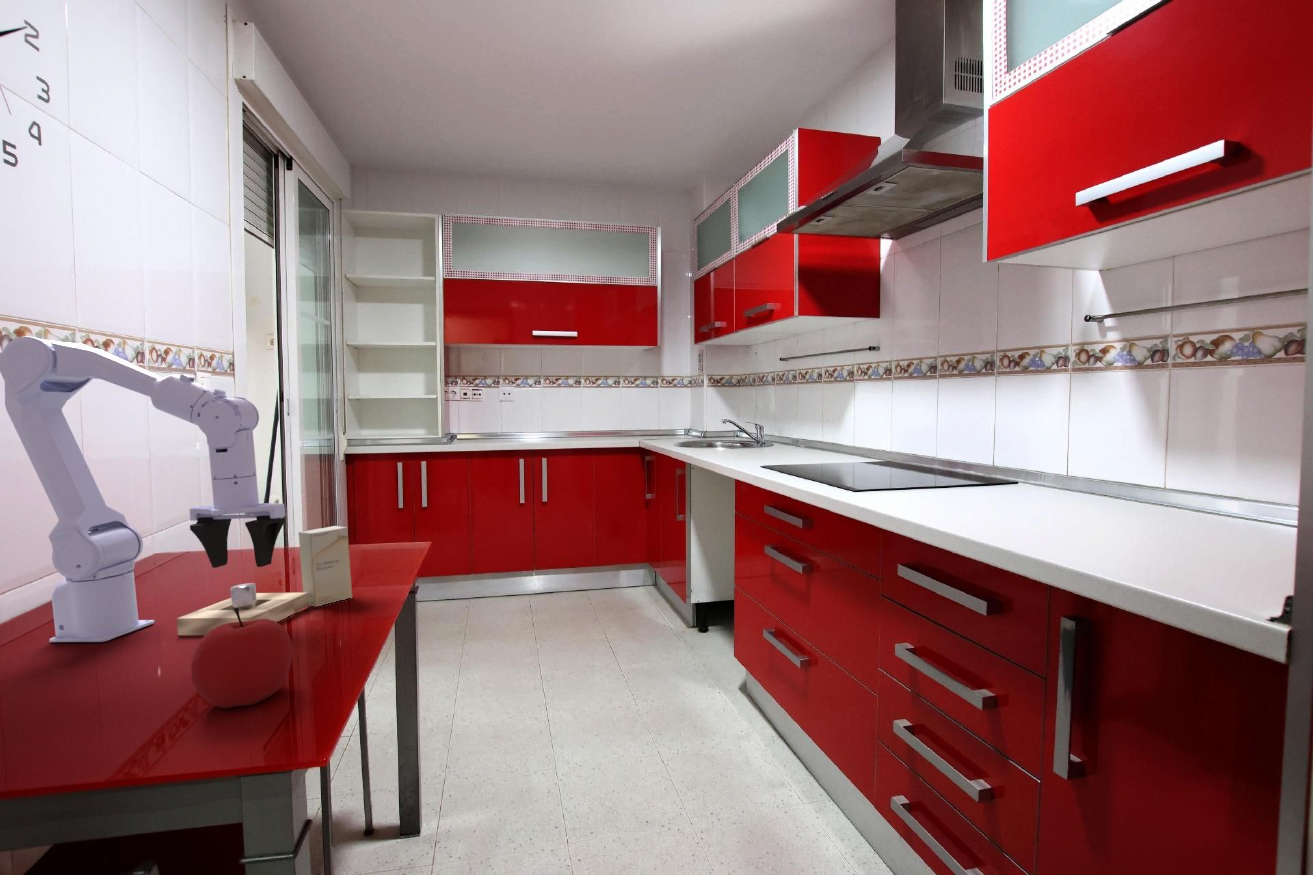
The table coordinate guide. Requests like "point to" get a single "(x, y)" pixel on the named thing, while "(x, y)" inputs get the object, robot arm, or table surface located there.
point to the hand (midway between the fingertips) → (241, 565)
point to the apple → (241, 662)
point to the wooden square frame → (242, 612)
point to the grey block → (244, 596)
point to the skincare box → (325, 564)
